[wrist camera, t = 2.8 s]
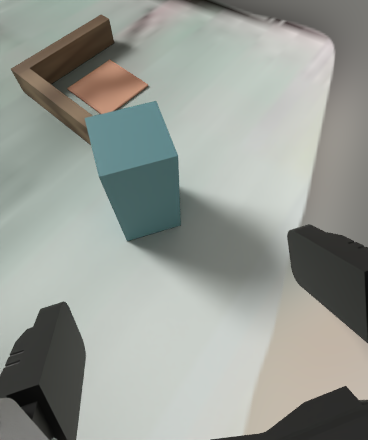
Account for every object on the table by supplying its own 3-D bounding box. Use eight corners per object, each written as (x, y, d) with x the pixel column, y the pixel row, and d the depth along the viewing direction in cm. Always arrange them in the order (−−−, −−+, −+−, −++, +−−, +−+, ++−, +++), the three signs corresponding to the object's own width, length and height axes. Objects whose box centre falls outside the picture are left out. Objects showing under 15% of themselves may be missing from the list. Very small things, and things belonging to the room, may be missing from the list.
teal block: (127, 241, 28) (99, 176, 19) (114, 195, 30) (84, 118, 21) (180, 225, 29) (177, 155, 20) (165, 181, 31) (156, 100, 22)
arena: (181, 84, 37) (180, 61, 34) (97, 150, 32) (89, 129, 30) (106, 38, 41) (101, 14, 38) (23, 91, 36) (10, 68, 34)
